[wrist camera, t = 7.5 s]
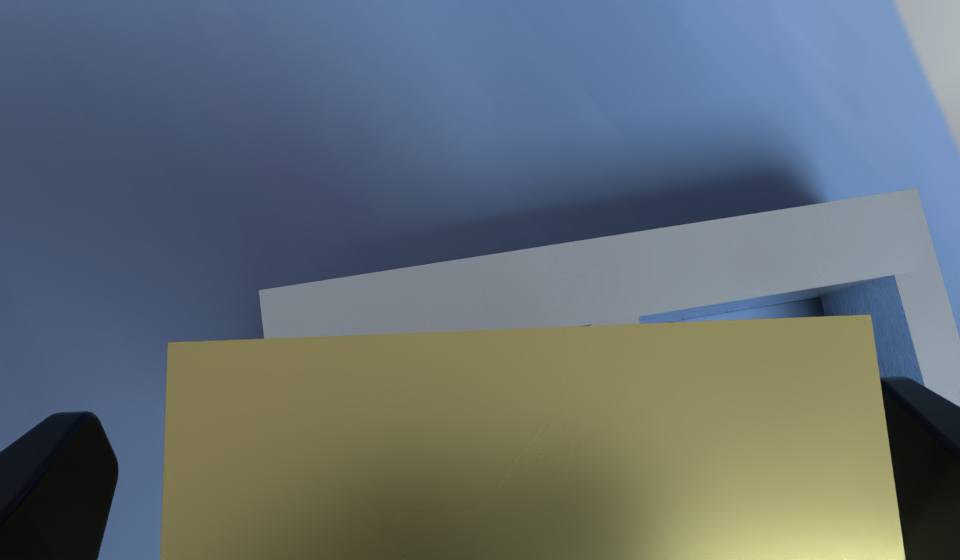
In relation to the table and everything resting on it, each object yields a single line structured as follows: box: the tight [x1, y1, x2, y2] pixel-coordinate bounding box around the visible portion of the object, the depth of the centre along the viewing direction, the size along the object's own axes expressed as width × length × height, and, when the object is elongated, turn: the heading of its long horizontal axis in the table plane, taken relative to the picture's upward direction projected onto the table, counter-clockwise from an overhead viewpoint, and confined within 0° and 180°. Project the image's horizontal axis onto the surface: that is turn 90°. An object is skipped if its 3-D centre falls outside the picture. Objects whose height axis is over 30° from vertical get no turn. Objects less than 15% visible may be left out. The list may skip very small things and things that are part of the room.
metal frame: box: [259, 188, 960, 406], centre depth 15 cm, size 9×14×3 cm, turn 99°
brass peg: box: [160, 315, 905, 560], centre depth 10 cm, size 4×4×13 cm
